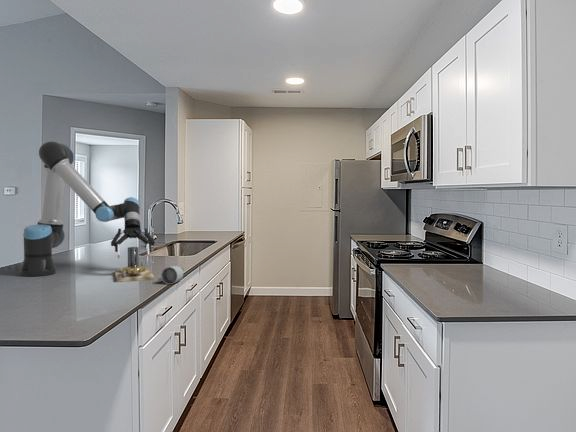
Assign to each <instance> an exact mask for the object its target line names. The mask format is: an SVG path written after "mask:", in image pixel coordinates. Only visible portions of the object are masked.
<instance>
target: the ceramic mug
mask: <svg viewBox="0 0 576 432" xmlns="http://www.w3.org/2000/svg"><path fill="white" fill-rule="evenodd" d="M160 274H161V275H160V277H159V278H158V279H157V282H158V283H161V282H163V283H164V284H166V285H174V284H176V283H177V282H180V281H181V280H182V279H183V277H184V270H183V269H182V267H180V266H177V265H172V266H166V267H165V268H164V269H162V271H161V273H160Z"/></svg>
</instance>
